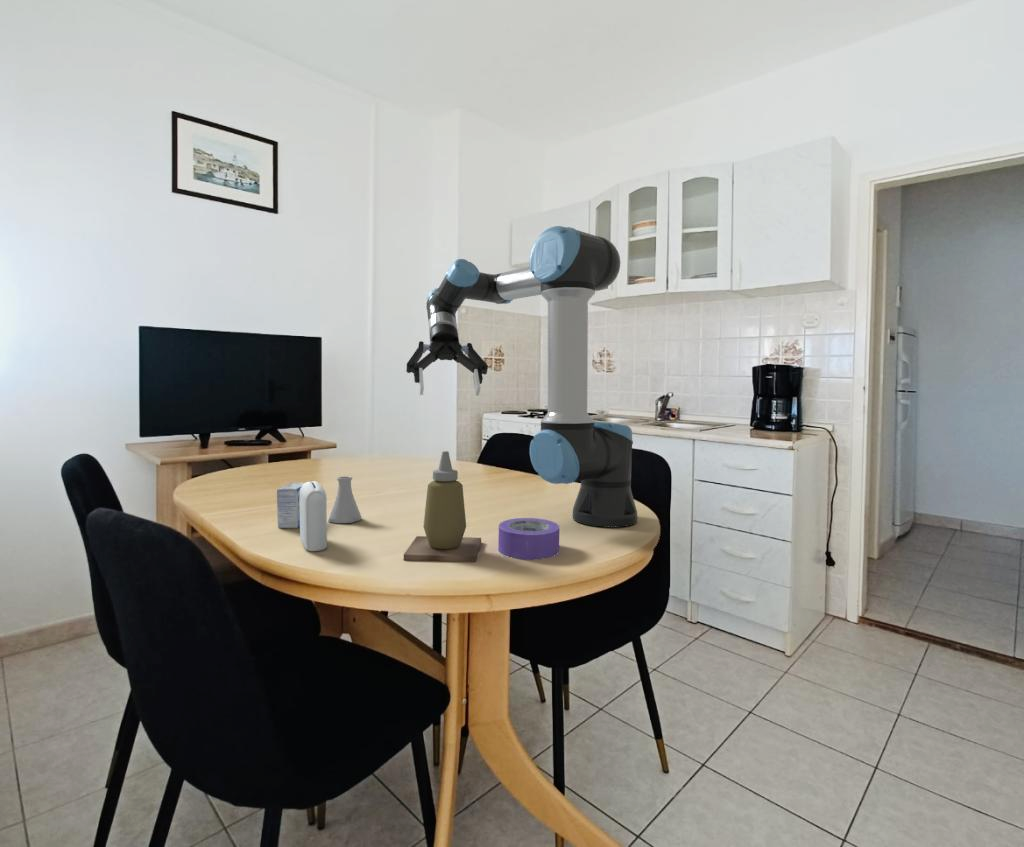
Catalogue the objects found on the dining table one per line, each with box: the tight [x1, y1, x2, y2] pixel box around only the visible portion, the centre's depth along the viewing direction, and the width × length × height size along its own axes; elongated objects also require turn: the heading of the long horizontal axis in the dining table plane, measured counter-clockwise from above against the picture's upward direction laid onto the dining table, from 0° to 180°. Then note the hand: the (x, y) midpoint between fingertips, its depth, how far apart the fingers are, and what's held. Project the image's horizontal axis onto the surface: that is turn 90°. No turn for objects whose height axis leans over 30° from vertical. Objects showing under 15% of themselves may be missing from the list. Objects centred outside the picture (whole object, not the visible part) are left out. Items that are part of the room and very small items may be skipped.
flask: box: [327, 475, 362, 524], centre depth 128 cm, size 7×7×10 cm
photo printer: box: [299, 480, 328, 552], centre depth 109 cm, size 10×4×12 cm, turn 27°
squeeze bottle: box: [422, 450, 467, 549], centre depth 106 cm, size 8×8×18 cm
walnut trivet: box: [403, 535, 482, 563], centre depth 106 cm, size 13×12×1 cm
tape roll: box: [497, 517, 560, 561], centre depth 108 cm, size 12×12×5 cm
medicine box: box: [276, 482, 305, 529], centre depth 124 cm, size 8×4×9 cm, turn 179°
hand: (450, 391), depth 135 cm, fingers open, 13 cm apart
